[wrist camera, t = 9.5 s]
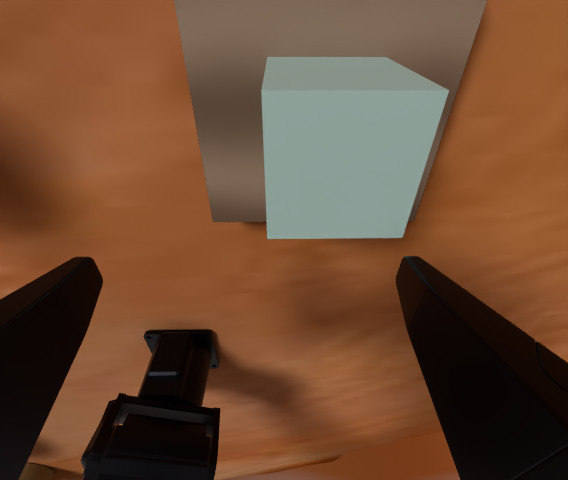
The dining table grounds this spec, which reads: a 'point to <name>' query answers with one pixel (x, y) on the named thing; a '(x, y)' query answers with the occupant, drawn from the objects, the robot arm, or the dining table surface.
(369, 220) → the sage block
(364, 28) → the grayish brown panel
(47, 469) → the plant pot
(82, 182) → the dining table surface
